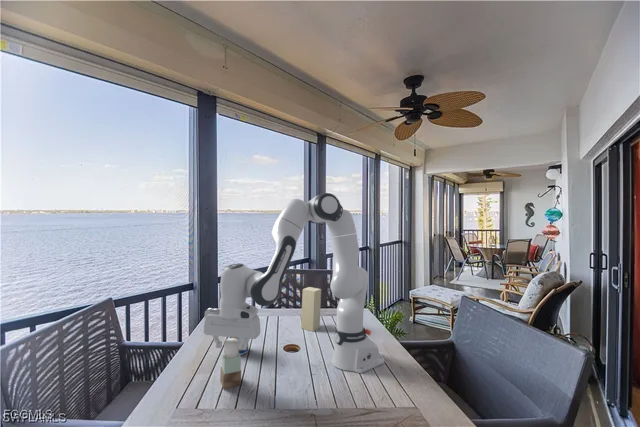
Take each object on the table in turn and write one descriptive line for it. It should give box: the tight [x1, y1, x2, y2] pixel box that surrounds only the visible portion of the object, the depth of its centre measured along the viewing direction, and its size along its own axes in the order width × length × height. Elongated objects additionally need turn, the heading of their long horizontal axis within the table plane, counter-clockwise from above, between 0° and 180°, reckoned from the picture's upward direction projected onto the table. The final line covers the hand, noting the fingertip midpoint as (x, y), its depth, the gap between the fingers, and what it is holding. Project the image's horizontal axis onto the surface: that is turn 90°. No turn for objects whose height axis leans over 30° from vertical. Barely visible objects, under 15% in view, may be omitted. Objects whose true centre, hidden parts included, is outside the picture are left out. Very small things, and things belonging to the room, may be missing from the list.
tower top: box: [221, 352, 242, 374], centre depth 108 cm, size 6×6×5 cm
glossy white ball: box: [223, 337, 239, 358], centre depth 108 cm, size 5×5×5 cm
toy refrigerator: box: [300, 286, 322, 332], centre depth 161 cm, size 8×7×21 cm
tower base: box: [219, 366, 242, 390], centre depth 108 cm, size 6×6×5 cm
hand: (231, 348), depth 108 cm, fingers open, 8 cm apart
